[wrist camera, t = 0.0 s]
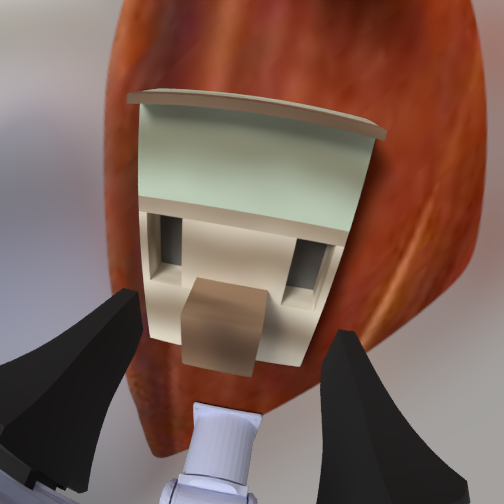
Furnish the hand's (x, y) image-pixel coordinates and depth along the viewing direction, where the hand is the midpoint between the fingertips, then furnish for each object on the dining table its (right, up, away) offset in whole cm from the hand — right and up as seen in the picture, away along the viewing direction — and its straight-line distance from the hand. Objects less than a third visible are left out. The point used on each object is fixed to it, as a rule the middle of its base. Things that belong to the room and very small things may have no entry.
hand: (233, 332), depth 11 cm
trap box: (0, +4, +10) cm, 10 cm away
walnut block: (-1, -1, +10) cm, 10 cm away
